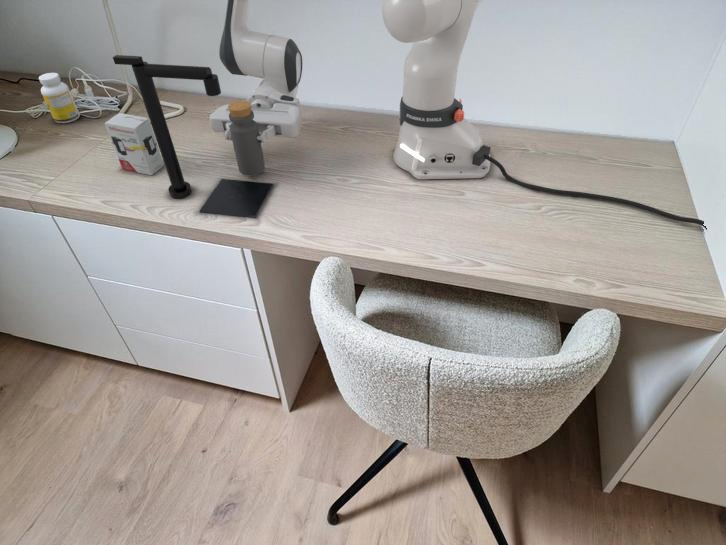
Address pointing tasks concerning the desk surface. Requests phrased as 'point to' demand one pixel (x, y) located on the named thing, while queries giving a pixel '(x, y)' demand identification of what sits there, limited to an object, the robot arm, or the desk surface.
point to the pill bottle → (58, 98)
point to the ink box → (134, 143)
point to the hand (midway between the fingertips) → (244, 138)
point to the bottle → (245, 138)
